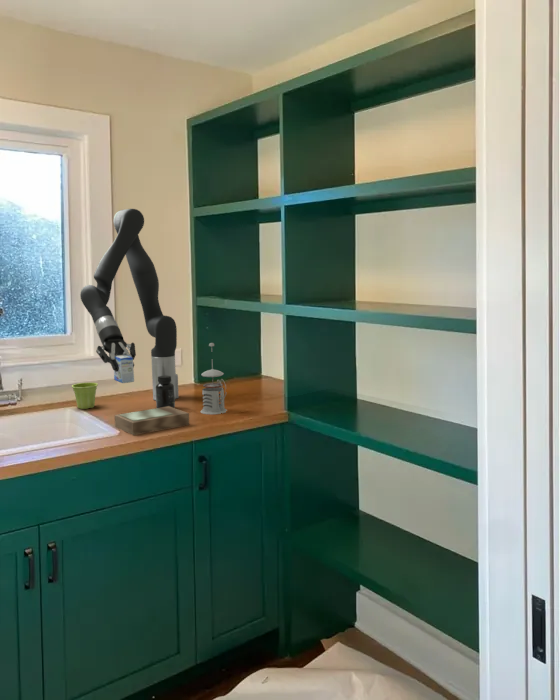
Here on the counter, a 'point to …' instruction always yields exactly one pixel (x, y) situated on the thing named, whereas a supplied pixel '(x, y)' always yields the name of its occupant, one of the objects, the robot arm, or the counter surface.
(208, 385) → the french press
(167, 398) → the supplement bottle
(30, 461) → the counter surface
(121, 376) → the medicine box
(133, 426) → the stand
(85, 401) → the plant pot
